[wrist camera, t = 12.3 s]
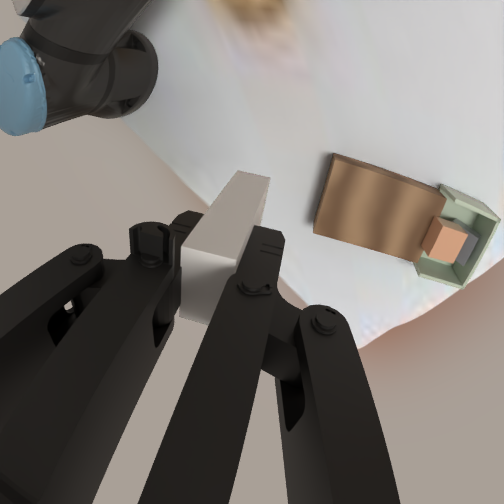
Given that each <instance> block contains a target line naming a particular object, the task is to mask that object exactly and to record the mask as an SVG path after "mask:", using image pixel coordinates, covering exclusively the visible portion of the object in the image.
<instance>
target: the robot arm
mask: <svg viewBox="0 0 504 504" xmlns="http://www.w3.org/2000/svg"><path fill="white" fill-rule="evenodd" d="M12 1H13V4H14V7H15V10H16V13H17V15H20V16H25V17H30V18H29V20H28V22H27V24H26V26H25V28H24V30H23V32H22V34H21V35H20V37H13V38H10V39H9V40H7V41H5V42H4V43H3V44H2V45H0V128H1V130H3V131H4V132H5V133H7V134H9V135H12V136H19V135H23V134H27V133H30V132H38V131H40V130H42V129H44V128H47V127H50V126H53V125H56V124H58V123H61V122H64V121H67V120H71V119H74V118H77V117H80V116H83V115H92V116H96V117H100V118H106V119H110V118H118V117H121V116H125V115H128V114H130V113H132V112H134V111H136V110H137V109H138V108H140V107H141V106H142V105H143V104H144V103H145V101H146V100H147V99H148V97H149V96H150V94H151V92H152V91H153V88H154V86H155V83H156V79H157V74H158V60H157V55H156V52H155V49H154V47H153V45H152V43H151V42H150V41H149V40H148V39H147V38H146V37H145V36H144V35H143V34H141V33H139V32H136V31H133V30H128V29H129V28H130V27H131V26H132V24H133V23H134V22H135V21H136V20H137V18H138V17H139V16H140V15H141V14H142V12H143V11H144V10H145V9H146V8H147V7H148V6H149V5H150V3H151V2H152V1H153V0H12ZM269 182H270V177H265V176H261V175H256V174H252V173H247V172H243V171H237V172H236V173H235V175H234V176H233V177H232V178H231V180H230V181H229V182H228V184H227V185H226V186H225V187H224V189H223V190H222V191H221V193H220V194H219V195H218V197H217V198H216V199H215V201H214V202H213V203H212V205H211V206H210V207H209V209H208V210H207V211H206V213H205V214H202V213H198V212H193V211H189V210H188V211H186V212H184V213H182V214H179V215H178V216H177V217H176V218H175V219H174V220H173V221H172V224H170V225H169V226H168V225H166V224H163V223H160V222H143V223H139V224H136V225H134V226H132V227H131V228H129V237H130V252H131V254H130V255H129V257H127V259H126V260H113V259H103V254H102V250H101V249H100V248H99V247H98V246H96V245H93V244H78V245H75V246H72V247H70V248H68V249H67V250H65V251H63V252H62V253H60V254H59V255H57V256H56V257H54V258H53V259H51V260H50V261H48V262H46V263H45V264H44V265H42V266H40V267H39V268H38V269H36V270H35V271H33V272H32V273H30V274H29V275H27V276H26V277H24V278H23V279H22V280H20V281H19V282H17V283H16V284H15V285H13V286H12V287H10V288H9V289H8V290H6V291H5V292H4V293H2V294H1V295H0V504H92V503H93V500H94V498H95V496H96V493H97V491H98V488H99V486H100V484H101V481H102V479H103V477H104V475H105V472H106V470H107V468H108V465H109V463H110V461H111V458H112V456H113V454H114V452H115V450H116V447H117V445H118V443H119V441H120V438H121V436H122V434H123V432H124V430H125V427H126V425H127V423H128V421H129V419H130V417H131V415H132V412H133V410H134V408H135V406H136V404H137V402H138V400H139V398H140V395H141V393H142V391H143V389H144V387H145V385H146V383H147V381H148V379H149V377H150V375H151V373H152V371H153V369H154V366H155V364H156V362H157V360H158V358H159V356H160V354H161V352H162V350H163V348H164V346H165V344H166V342H167V340H168V338H169V336H170V334H171V332H172V330H173V327H174V315H175V313H176V311H177V309H178V308H179V306H180V311H179V314H180V315H179V316H180V317H182V318H185V319H188V320H192V321H195V322H199V323H202V324H206V325H209V326H208V328H207V331H206V333H205V335H204V338H203V340H202V343H201V345H200V348H199V350H198V353H197V355H196V358H195V360H194V363H193V365H192V367H191V370H190V372H189V375H188V378H187V380H186V382H185V385H184V387H183V390H182V392H181V395H180V398H179V400H178V403H177V405H176V407H175V410H174V412H173V415H172V417H171V420H170V422H169V425H168V427H167V430H166V432H165V435H164V438H163V440H162V443H161V445H160V448H159V450H158V453H157V455H156V458H155V460H154V463H153V465H152V468H151V471H150V473H149V476H148V478H147V481H146V484H145V486H144V489H143V491H142V494H141V497H140V499H139V502H138V504H228V503H229V500H230V496H231V492H232V488H233V484H234V481H235V477H236V473H237V469H238V465H239V461H240V457H241V453H242V449H243V444H244V440H245V436H246V432H247V428H248V423H249V419H250V415H251V411H252V406H253V402H254V398H255V393H256V389H257V384H258V380H259V375H260V371H261V369H262V370H263V371H265V372H267V373H269V374H271V375H272V376H274V377H275V386H276V394H277V404H278V413H279V422H280V431H281V439H282V449H283V459H284V468H285V478H286V487H287V497H288V504H400V500H399V495H398V491H397V486H396V482H395V478H394V474H393V470H392V465H391V461H390V457H389V453H388V450H387V446H386V443H385V438H384V435H383V432H382V428H381V424H380V421H379V417H378V414H377V410H376V407H375V403H374V400H373V397H372V394H371V390H370V387H369V384H368V381H367V378H366V375H365V371H364V368H363V365H362V362H361V359H360V356H359V353H358V350H357V347H356V344H355V341H354V338H353V335H352V332H351V330H350V327H349V324H348V322H347V321H346V319H345V317H344V316H343V315H342V314H341V313H339V312H338V311H337V310H335V309H333V308H331V307H329V306H324V305H310V306H308V307H307V308H304V309H303V310H301V309H299V308H297V307H294V306H293V305H291V304H290V303H288V302H287V301H286V300H285V299H283V298H282V296H281V295H280V293H279V291H278V289H277V281H278V276H279V271H280V266H281V260H282V255H283V249H284V244H285V238H284V236H283V234H282V232H281V231H277V230H273V229H269V228H265V227H261V226H260V225H261V220H262V215H263V211H264V206H265V201H266V197H267V192H268V187H269ZM70 300H71V303H72V306H73V307H72V308H71V309H69V310H65V308H64V305H65V304H67V303H68V302H69V301H70Z"/></svg>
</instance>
